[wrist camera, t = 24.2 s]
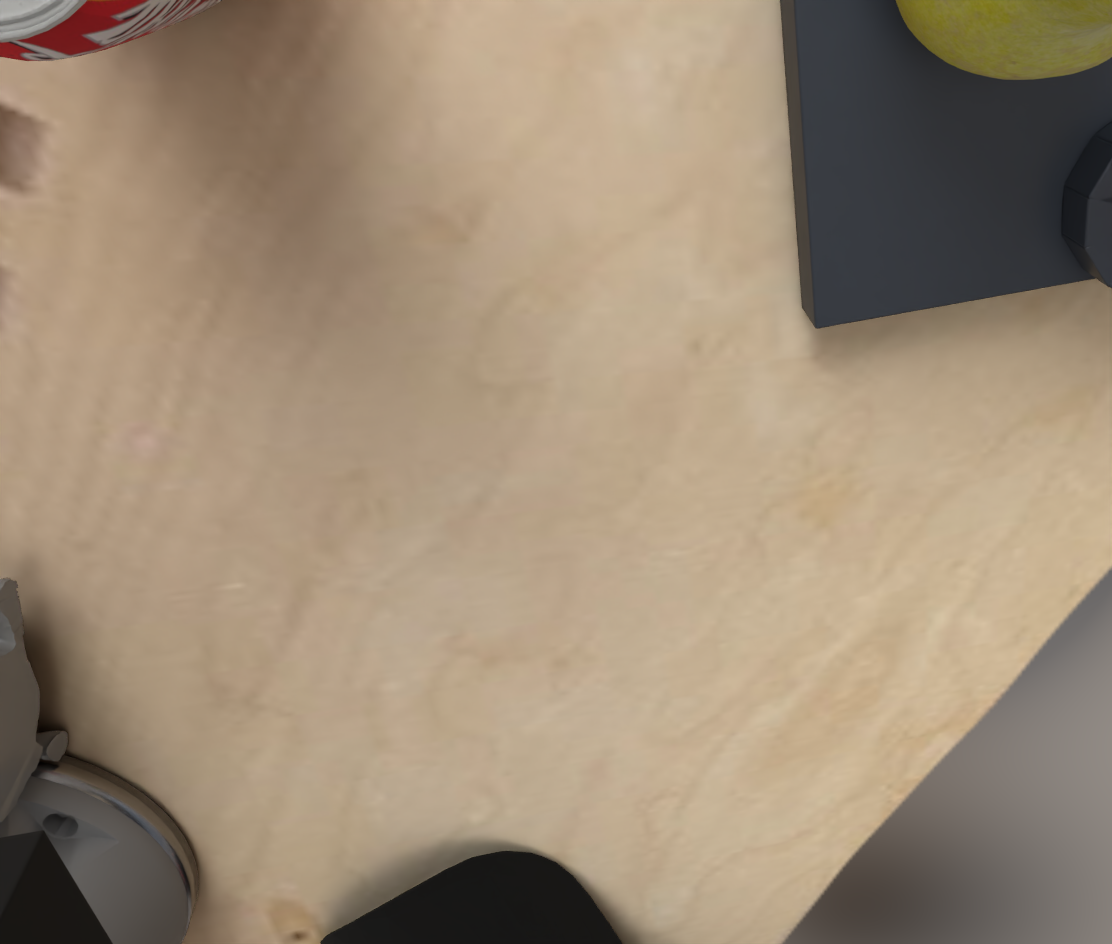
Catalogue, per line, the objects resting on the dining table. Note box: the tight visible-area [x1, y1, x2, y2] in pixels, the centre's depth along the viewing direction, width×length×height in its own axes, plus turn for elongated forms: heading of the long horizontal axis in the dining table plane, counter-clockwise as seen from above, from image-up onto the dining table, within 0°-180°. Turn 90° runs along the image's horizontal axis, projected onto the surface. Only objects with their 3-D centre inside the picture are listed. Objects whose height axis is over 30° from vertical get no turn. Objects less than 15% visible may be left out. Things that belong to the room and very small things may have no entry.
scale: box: [780, 0, 1112, 328], centre depth 29 cm, size 16×13×4 cm
